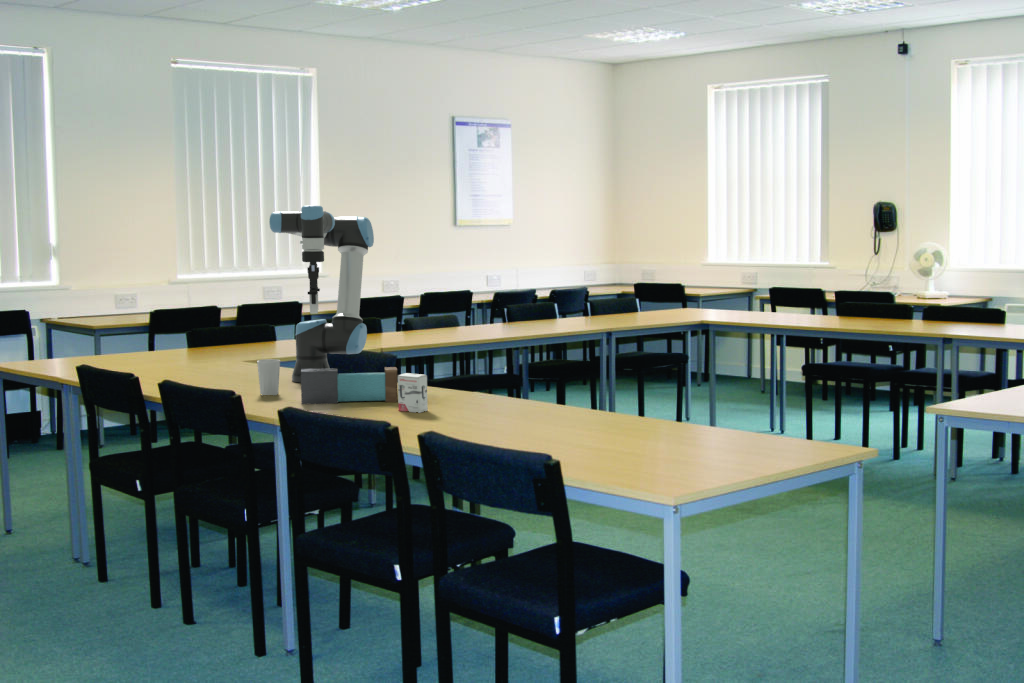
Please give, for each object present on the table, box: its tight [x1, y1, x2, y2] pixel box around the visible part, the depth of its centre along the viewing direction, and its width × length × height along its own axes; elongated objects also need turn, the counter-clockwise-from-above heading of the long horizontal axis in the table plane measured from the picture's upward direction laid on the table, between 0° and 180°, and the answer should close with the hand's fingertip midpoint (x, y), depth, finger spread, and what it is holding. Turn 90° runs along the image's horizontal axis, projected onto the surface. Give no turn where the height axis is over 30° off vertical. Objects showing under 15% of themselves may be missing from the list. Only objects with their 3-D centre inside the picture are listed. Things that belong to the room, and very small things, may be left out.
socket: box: [384, 366, 398, 403], centre depth 371 cm, size 7×4×11 cm, turn 9°
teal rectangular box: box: [337, 371, 386, 402], centre depth 369 cm, size 4×22×9 cm, turn 99°
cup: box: [256, 358, 281, 396], centre depth 384 cm, size 8×8×12 cm
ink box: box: [397, 372, 429, 414], centre depth 350 cm, size 9×5×12 cm, turn 62°
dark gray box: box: [300, 367, 339, 405], centre depth 367 cm, size 7×12×11 cm, turn 99°
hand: (314, 311), depth 378 cm, fingers open, 13 cm apart
